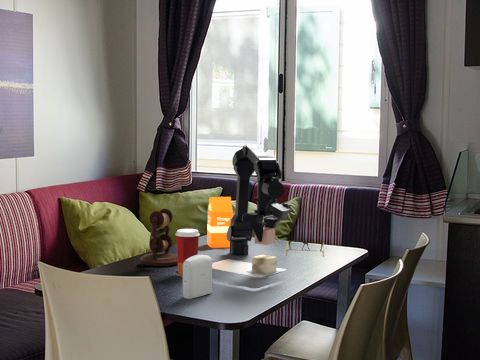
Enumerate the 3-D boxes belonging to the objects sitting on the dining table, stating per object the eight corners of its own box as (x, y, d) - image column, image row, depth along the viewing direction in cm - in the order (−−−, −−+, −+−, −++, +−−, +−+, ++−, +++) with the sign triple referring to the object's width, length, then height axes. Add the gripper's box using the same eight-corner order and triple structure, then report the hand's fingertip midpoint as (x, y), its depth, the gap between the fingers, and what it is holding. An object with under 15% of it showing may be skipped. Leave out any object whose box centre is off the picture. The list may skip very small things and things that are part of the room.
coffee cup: (203, 272, 257) (203, 229, 256) (193, 277, 250) (194, 233, 248) (180, 270, 260) (180, 227, 259) (170, 275, 252) (171, 231, 251)
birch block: (251, 271, 256) (252, 257, 255) (262, 268, 260) (262, 254, 260) (266, 274, 252) (266, 259, 251) (276, 271, 257) (276, 256, 256)
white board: (199, 268, 263) (199, 265, 263) (228, 261, 276) (228, 258, 276) (261, 280, 247) (261, 277, 247) (288, 272, 260) (288, 269, 260)
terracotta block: (254, 243, 255) (254, 228, 254) (263, 241, 259) (263, 226, 258) (266, 245, 252) (266, 230, 251) (275, 243, 256) (275, 228, 255)
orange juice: (207, 244, 309) (207, 195, 307) (228, 243, 311) (228, 195, 309) (210, 247, 302) (211, 198, 300) (232, 247, 304) (233, 198, 302)
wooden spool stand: (151, 259, 277) (152, 205, 275) (188, 263, 272) (188, 208, 270) (132, 267, 263) (132, 211, 261) (170, 271, 258) (170, 214, 256)
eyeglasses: (323, 251, 301) (323, 241, 301) (323, 258, 287) (323, 248, 287) (287, 249, 303) (288, 240, 302) (286, 257, 289) (286, 246, 288)
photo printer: (190, 300, 222) (191, 258, 221) (180, 297, 225) (180, 256, 223) (214, 293, 230) (214, 253, 228) (203, 291, 232) (204, 251, 231)
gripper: (269, 199, 241) (268, 247, 243) (301, 194, 256) (299, 240, 257) (241, 196, 248) (240, 243, 250) (274, 192, 263) (273, 236, 264)
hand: (264, 240), depth 255 cm, fingers closed on terracotta block, 5 cm apart
